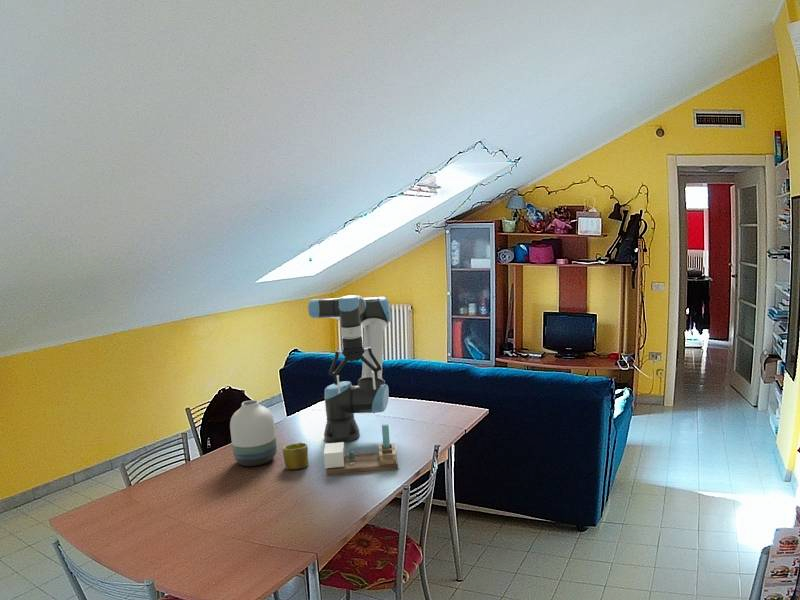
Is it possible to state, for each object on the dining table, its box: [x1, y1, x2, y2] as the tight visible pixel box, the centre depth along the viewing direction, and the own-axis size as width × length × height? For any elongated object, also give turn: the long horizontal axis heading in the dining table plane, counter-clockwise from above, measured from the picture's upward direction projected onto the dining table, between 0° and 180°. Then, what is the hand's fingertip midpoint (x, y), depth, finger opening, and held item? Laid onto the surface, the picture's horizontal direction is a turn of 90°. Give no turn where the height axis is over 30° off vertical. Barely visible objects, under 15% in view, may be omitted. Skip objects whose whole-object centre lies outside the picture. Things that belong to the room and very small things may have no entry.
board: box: [326, 442, 399, 477], centre depth 231 cm, size 13×26×6 cm, turn 93°
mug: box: [282, 441, 309, 471], centre depth 236 cm, size 12×10×10 cm
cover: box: [323, 442, 346, 469], centre depth 230 cm, size 10×7×6 cm
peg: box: [381, 423, 391, 449], centre depth 233 cm, size 2×2×12 cm
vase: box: [229, 399, 278, 467], centre depth 242 cm, size 17×17×24 cm
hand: (357, 390), depth 237 cm, fingers open, 13 cm apart
